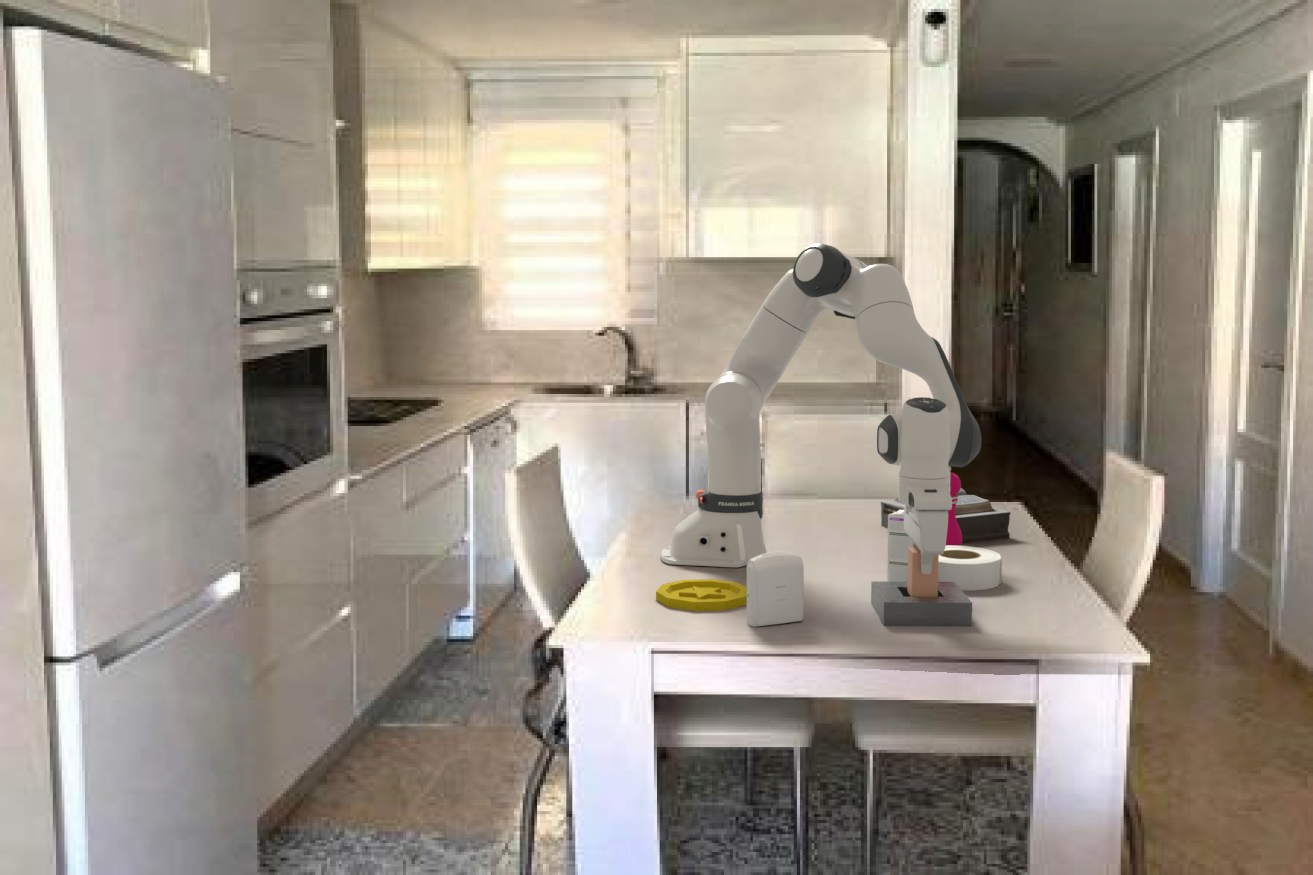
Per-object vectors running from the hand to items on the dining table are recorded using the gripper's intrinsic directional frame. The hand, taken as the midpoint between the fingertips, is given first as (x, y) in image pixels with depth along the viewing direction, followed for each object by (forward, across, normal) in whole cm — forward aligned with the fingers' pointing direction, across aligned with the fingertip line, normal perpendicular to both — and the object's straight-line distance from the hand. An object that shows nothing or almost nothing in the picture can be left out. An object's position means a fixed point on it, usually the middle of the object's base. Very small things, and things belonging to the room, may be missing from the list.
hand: (922, 569), depth 233 cm
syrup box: (+8, -20, +1) cm, 22 cm away
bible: (+9, -72, +19) cm, 75 cm away
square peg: (+5, 0, 0) cm, 5 cm away
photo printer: (+8, +6, -26) cm, 28 cm away
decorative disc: (+8, -10, -38) cm, 41 cm away
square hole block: (+8, 0, 0) cm, 8 cm away
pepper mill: (+8, -44, +13) cm, 46 cm away
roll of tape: (+9, -25, +12) cm, 29 cm away
